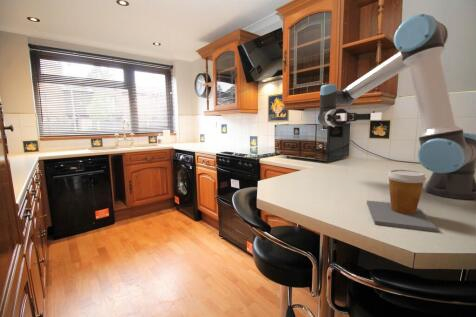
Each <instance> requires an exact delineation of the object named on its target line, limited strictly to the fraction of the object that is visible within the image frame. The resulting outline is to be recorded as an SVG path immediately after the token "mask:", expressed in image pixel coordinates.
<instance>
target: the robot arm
mask: <svg viewBox="0 0 476 317" xmlns="http://www.w3.org/2000/svg"><path fill="white" fill-rule="evenodd" d="M395 30H396V31H395V33H394V35H393V44H394V46H395V48H396V49H397V50H398V52H397V53H394V54H393V55H392V56H391V57H389V58H387V59H386V60H384V61H383V62H381V63H380V64H378V65H377V66H376V67H374V68H372V69H371V70H370V71H368V72H367V73H365V74H364V75H362V76H360V77H359V78H358V79H356V80H355V81H353V82H351V83H350V84H349V85H347V86H345V87H344V88H343V89H338V86H337V84H335V83H330V84H329V83H328V84H327V83H326V84H323V85H321V86H320V92H319V112H318V113H317V115H316V122H317V123H318V124H319V125H320V126H325V127H326V126H327V127H332V128H335V127H343V126H345V125H346V124H347V123H350V122H357V121H363V120H364V121H367V120H368V121H384V116H385V115H384V114H385V112H383V111H382V112H375V111H372V112H371V113H357V112H348V111H347V110H346V109H345V108H337V106H342V107H345V106H350V105H352V104H353V103H355V100H357V99H358V98H359V97H361V96H363V95H364V94H367V93H368V92H369V91H371V90H372V89H373V90H374V88H376V87H378V86H379V85H381V84H383V83H384V82H386V81H388V80H390V79H392V78H393V77H394V76H396V75H398V74H399V73H401V72H403V71H405V70H407V69H408V68H409V72H410V77H411V83H412V87H413V91H414V95H415V99H416V100H415V101H416V106H417V110H418V114H419V119H420V120H419V121H420V125H421V128H422V129H421V130H422V131H421V133H420V134H419V136H418V141H419V146H420V147H419V148H418V151H417V159H418V161H419V163H420V164H421V166H422V167H423V168H425V169H426V170H427V171H430V172H432V173H431V175H430V176H429V178H428V181H427V182H426V184H425V192H428V193H430V194H431V195H435V196H439V197H443V198H450V199H457V200H458V199H459V200H475V199H476V177H475V173H476V133H470V132H469V133H468V132H464V130H463V128H461V127H459V126H458V125H456V123H455V118H454V115H453V114H454V113H453V109H452V105H451V99H450V96H449V91H448V87H447V82H446V78H445V73H444V69H443V64H442V59H441V55H442V54H443V52H444V51H445V48H446V47H445V45H446V43H447V41H448V38H449V31H448V28H447V27H446V26H445V24H443V23H442V22H440V21H438V20H437V19H436V18H435V17H434V16H432V15H430V14H426V13H419V14H418V13H417V14H415V15H411V16H410V17H408V18H406V19H405V20H404V21H402V22H401V23H400V25H399V26H398V27H397V29H395Z"/></svg>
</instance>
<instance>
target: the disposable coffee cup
mask: <svg viewBox="0 0 476 317" xmlns="http://www.w3.org/2000/svg"><path fill="white" fill-rule="evenodd" d="M387 178H388V185H389V186H388V187H389V196H390V197H389V198H390V199H389V200H390V203H391V210H393V211H395V212H397V213H401V214H415V213H416V210H417V207H418V206H419V202H420V199H421V194H422V191H423V187H424V183H425V181H426V180H427V177H426V174H425V173H424V172H421V171H416V170H409V169H391V170H389V172H388V174H387Z"/></svg>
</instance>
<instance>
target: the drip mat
mask: <svg viewBox="0 0 476 317" xmlns="http://www.w3.org/2000/svg"><path fill="white" fill-rule="evenodd" d="M366 205H367V208H368V210H369V214H370V215H371V218H372V220H373V221H372V222H373V223H374V225H378V226H387V227H392V228H393V227H394V228H401V229H402V228H403V229H410V230H419V231H425V232H433V233H434V232H436V233H437V232H438V227H437V226H436V225H435V223H433V222H432V221H431V220H430V218H429V217H428V216H426V214H425V213H424V212H423V211H422V210H421V209H420V207H418V206H417V210H416V213H415V214H401V213H397V212H395V211H393V210H391V202H385V201H374V200H366Z"/></svg>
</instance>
